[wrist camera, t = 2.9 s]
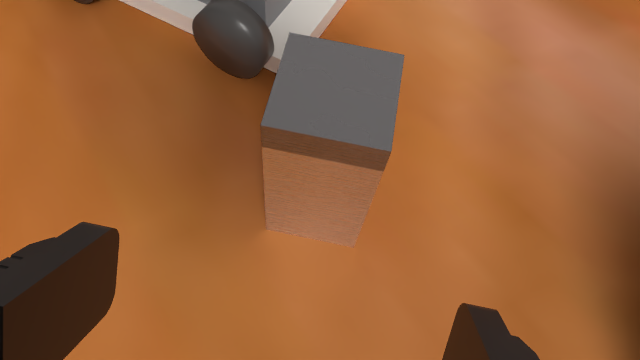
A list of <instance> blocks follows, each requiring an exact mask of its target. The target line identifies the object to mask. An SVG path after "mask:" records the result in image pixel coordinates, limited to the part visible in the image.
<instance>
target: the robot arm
mask: <svg viewBox="0 0 640 360" xmlns="http://www.w3.org/2000/svg"><path fill="white" fill-rule="evenodd" d="M118 251H119V233H118V231H117V229H115V228H110V227H105V226H101V225H96V224H91V223H86V222H81V223H79V224H78V225H76V226H74V227H73V228H71V229H70V230H68V231H66V232H65V233H63V234H62V235H60V236H58V237H57V238H55V237H53V238H49V239H46V240H43V241H39V242H36V243H33V244H29V245H28V246H26V247H24V248H22V249H21V250H19V251H17V252H16V253H14V254H12V255H11V257H10V258H9V257H7V258H5V259H4V260H2V261H0V360H63V359H64V358H65V357H66V356H67V355H68V354H69V353H70V352H71V351H72V350H73V349H74V348H75V347H76V346H77V345H78V343H79V342H80V341H81V340H82V339H83V338H84V337H85V336H86V335H87V334H88V333H89V332H90V331H91V330H92V329H93V328H94V327H95V326H96V325H97V324H98V323H99V322H100V320H101V319H102V318H103V317H104V316H105V315H106V313H107V312H108V310H109V308H110V306H111V304H112V301H113V298H114V294H115V288H116V275H117V263H118ZM442 360H540V359H539V358H538V356H537V354H536V353H535V352H534V351H533V350H532V349H531V348H530V347H528V346H527V345H526V344H525V343H524V342H523V341H522V340H521V339H520V338H519V337H516V336H512V335H510V333H509V331H508V329H507V327H506V325H505V324H504V322H503V320H502V318H501V316H500V314H499V313H498V311H497V310H494V309H490V308H485V307H480V306H475V305H471V304H466V303H462V304H461V305H460V307H459V308H458V310H457V313H456V316H455V320H454V323H453V326H452V329H451V333H450V336H449V339H448V342H447V346H446V349H445V352H444V355H443V359H442Z"/></svg>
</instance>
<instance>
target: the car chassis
mask: <svg viewBox="0 0 640 360" xmlns="http://www.w3.org/2000/svg"><path fill="white" fill-rule="evenodd" d="M74 1H76V2H79V3H82V4H88V3H91V2H92V1H93V0H74ZM120 1H122V2H124V3H126V4H128V5H130V6H132V7H135V8H137V9H139V10H141V11H143V12H145V13H147V14H150V15H152V16H154V17H156V18H158V19H160V20H163V21H165V22H167V23H169V24H171V25H173V26H175V27H178V28H180V29H182V30H184V31H186V32H188V33H191V34H193V35H194V37H195V40H196V42H197V44H198V46H199V47H200V49H201V50H202V51H203V53H204V54H205V55H206V56H207V57H208V59H209V60H210V61H212V62H213V63H214V64H215V65H216V66H217V67H219V68H220V69H221V70H223V71H225V72H226V73H228V74H230V75H233V76H235V77H239V78H245V79H246V78H252V77H255V76H256V75H257V74H258V73H259V72H260V70H261V69H262V68H263V67H264V68H266V69H268V70H270V71H272V72H274V73H277V71H278V68H279V64H280V61H281V58H282V55H283V52H284V48H285V45H286V42H287V39H288V35H289V32H291V33H296V34H301V35H306V36H311V37H316V38H319V37H320V36H321V34H322V33H323V32H324V30H325V29H326V28H327V26H328V25H329V24H330V22H331V21H332V20H333V18H334V17H335V16H336V14H337V13H338V12H339V10H340V9H341V8H342V6H343V5H344V4H345V2H346V1H347V0H120Z"/></svg>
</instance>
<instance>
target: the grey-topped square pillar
mask: <svg viewBox="0 0 640 360" xmlns="http://www.w3.org/2000/svg"><path fill="white" fill-rule="evenodd" d="M403 61H404V55H402V54H397V53H392V52H387V51H382V50H377V49H372V48H367V47H361V46H356V45H351V44H346V43H341V42H336V41H331V40H326V39H321V38H316V37H311V36H306V35H301V34H296V33H291V32H289V35H288V39H287V42H286V45H285V48H284V52H283V55H282V58H281V61H280V64H279V68H278V71H277V74H276V77H275V81H274V84H273V87H272V90H271V93H270V97H269V100H268V103H267V106H266V110H265V113H264V116H263V119H262V122H261V142H262V161H263V179H264V198H265V217H266V229H267V230H271V231H276V232H281V233H286V234H291V235H296V236H300V237H305V238H310V239H315V240H320V241H324V242H329V243H334V244H339V245H344V246H349V247H353V248H354V245H355V243H356V240H357V238H358V235H359V233H360V230H361V227H362V225H363V222H364V220H365V217H366V215H367V212H368V210H369V207H370V205H371V202H372V199H373V197H374V194H375V192H376V189H377V187H378V184H379V182H380V179H381V176H382V174H383V171H384V169H385V166H386V164H387V161H388V159H389V156H390V153H391V150H392V142H393V135H394V127H395V120H396V113H397V105H398V98H399V91H400V83H401V76H402V69H403Z"/></svg>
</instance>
